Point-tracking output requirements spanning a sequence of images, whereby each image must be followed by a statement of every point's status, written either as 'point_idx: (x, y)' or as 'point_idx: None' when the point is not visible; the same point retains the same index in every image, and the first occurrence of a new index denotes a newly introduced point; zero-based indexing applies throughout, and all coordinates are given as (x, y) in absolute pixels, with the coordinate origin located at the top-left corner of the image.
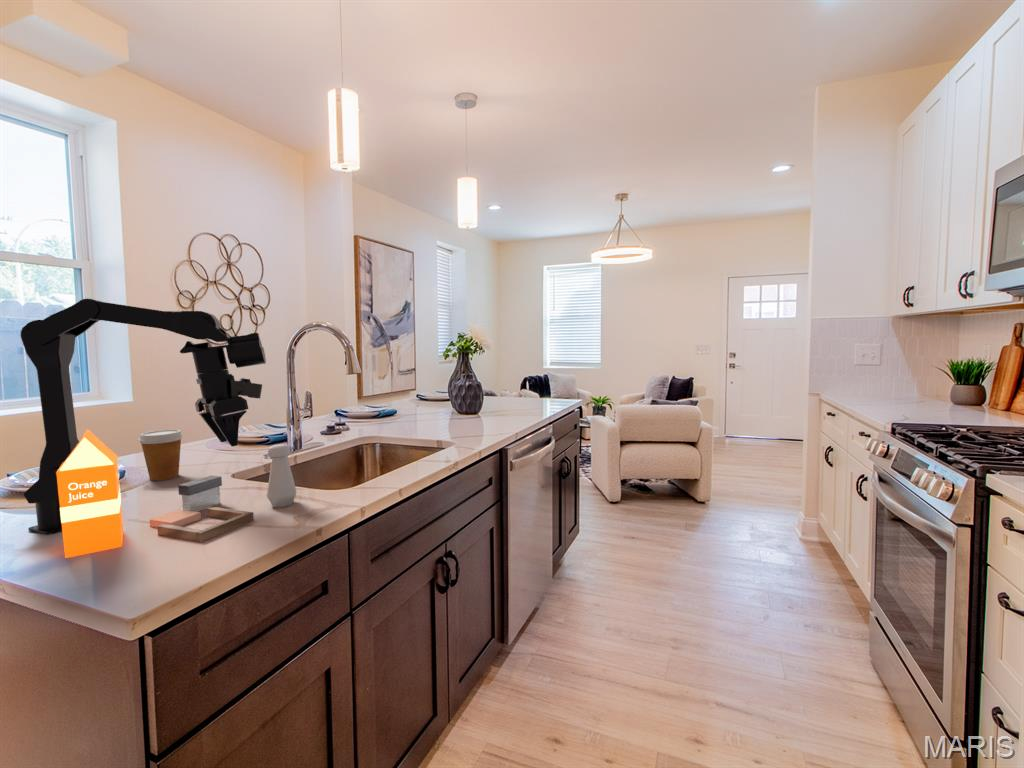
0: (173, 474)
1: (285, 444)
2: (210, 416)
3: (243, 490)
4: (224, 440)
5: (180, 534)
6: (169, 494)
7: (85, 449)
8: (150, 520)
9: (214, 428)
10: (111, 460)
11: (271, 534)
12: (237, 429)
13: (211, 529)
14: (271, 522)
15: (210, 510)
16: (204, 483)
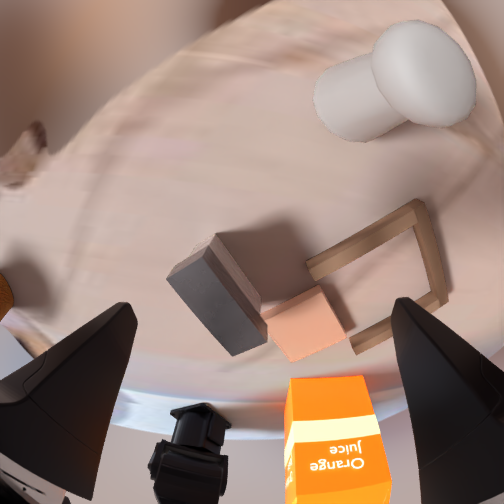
0: (2, 282)
1: (435, 32)
2: (74, 469)
3: (126, 167)
4: (130, 314)
5: None
6: (86, 305)
7: None
8: (293, 360)
9: (107, 404)
10: (384, 490)
11: (489, 199)
12: (480, 359)
13: (445, 285)
14: (448, 175)
15: (325, 274)
16: (239, 303)
